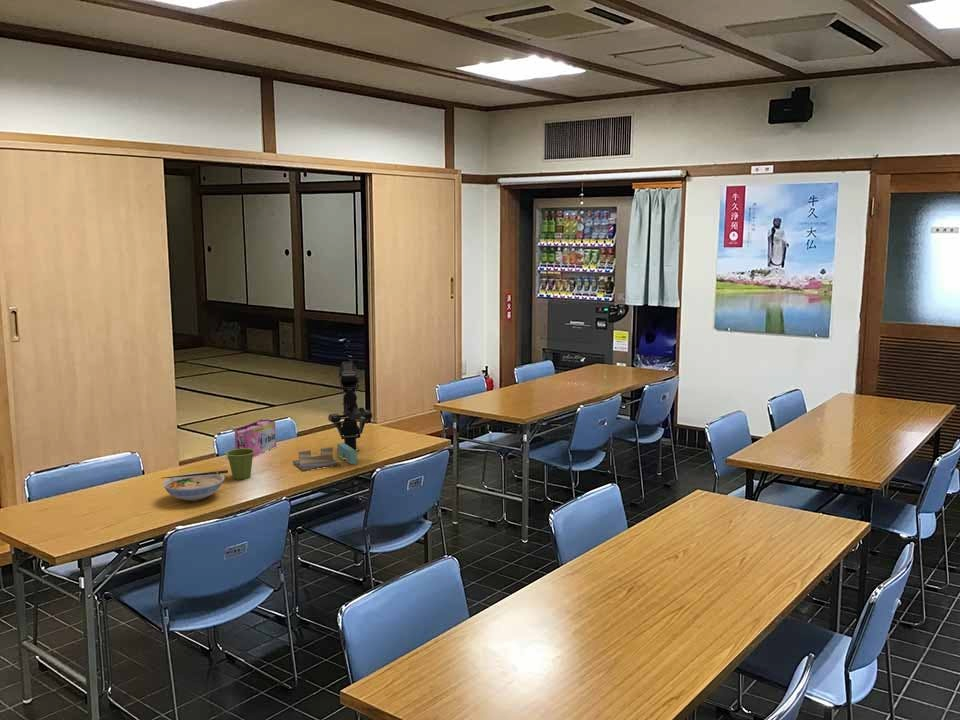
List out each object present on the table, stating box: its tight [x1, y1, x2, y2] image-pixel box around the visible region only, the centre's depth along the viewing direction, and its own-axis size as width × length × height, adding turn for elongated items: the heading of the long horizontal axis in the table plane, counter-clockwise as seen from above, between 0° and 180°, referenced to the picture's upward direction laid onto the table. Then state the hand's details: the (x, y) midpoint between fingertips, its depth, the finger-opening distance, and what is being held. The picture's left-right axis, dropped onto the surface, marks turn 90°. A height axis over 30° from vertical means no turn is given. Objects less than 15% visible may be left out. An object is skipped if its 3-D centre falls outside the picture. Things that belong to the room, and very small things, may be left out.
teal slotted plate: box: [337, 442, 358, 465], centre depth 366 cm, size 18×3×6 cm, turn 28°
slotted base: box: [292, 446, 341, 472], centre depth 359 cm, size 16×17×7 cm
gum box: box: [234, 419, 277, 458], centre depth 381 cm, size 24×8×14 cm, turn 161°
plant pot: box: [225, 448, 255, 481], centre depth 340 cm, size 12×12×11 cm
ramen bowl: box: [160, 469, 229, 502], centre depth 312 cm, size 25×23×8 cm
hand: (351, 435), depth 359 cm, fingers open, 9 cm apart
